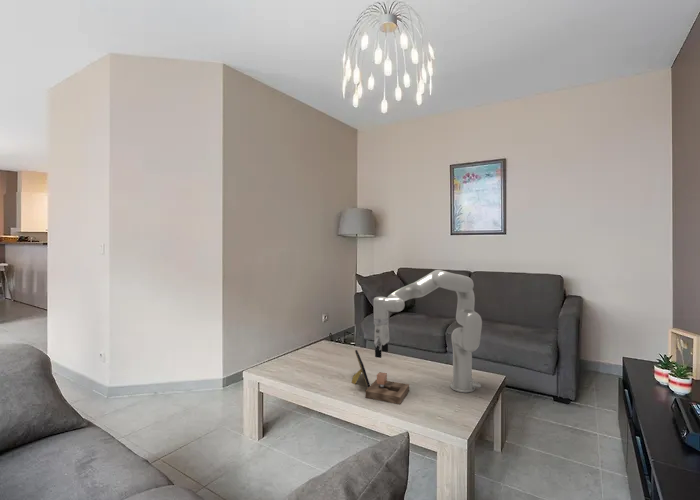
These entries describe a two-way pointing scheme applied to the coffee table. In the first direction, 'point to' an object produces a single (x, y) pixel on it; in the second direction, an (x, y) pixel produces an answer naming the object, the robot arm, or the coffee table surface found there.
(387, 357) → the coffee table surface
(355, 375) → the picture frame
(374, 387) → the keyhole board
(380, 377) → the peg
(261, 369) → the coffee table surface
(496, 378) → the coffee table surface
